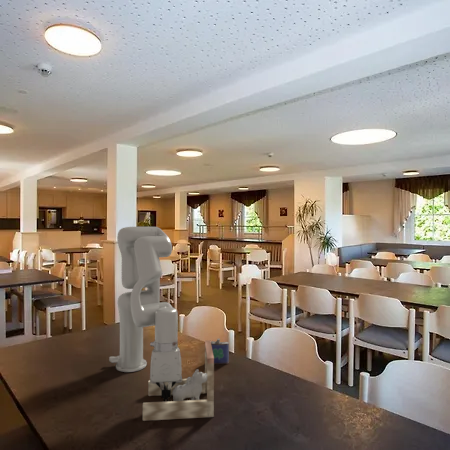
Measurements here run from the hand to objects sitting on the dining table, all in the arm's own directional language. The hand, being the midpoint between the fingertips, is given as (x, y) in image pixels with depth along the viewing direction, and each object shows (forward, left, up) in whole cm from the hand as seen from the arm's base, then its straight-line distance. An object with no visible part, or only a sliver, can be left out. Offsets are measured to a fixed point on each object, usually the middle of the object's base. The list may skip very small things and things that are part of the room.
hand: (166, 399), depth 116 cm
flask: (+20, +33, -2) cm, 39 cm away
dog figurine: (+8, +1, -2) cm, 8 cm away
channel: (+4, 0, -2) cm, 5 cm away
